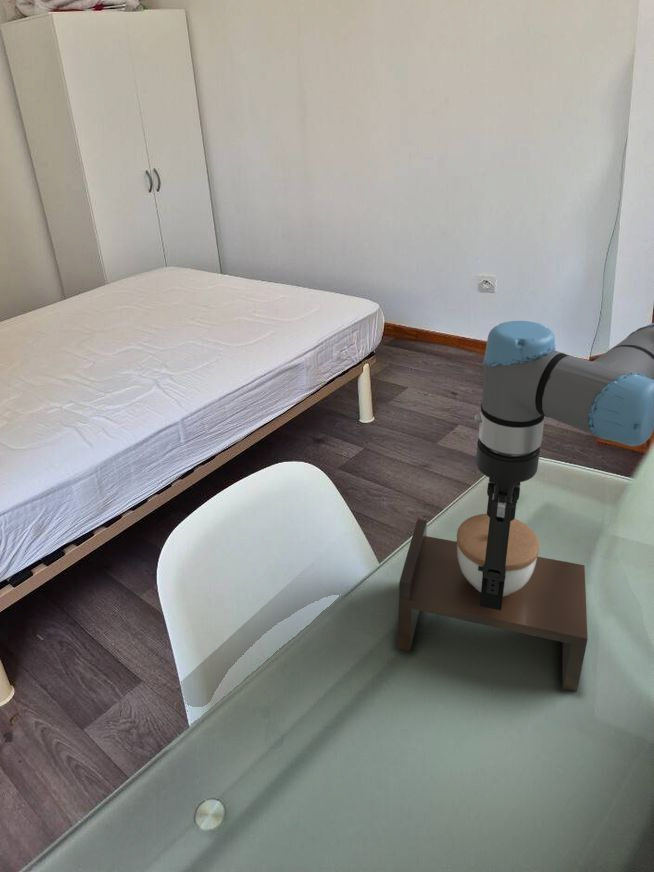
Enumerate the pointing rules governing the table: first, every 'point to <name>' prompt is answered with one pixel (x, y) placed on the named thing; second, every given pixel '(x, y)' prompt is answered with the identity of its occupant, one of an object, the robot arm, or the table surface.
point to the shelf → (521, 611)
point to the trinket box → (518, 552)
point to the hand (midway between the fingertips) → (494, 571)
